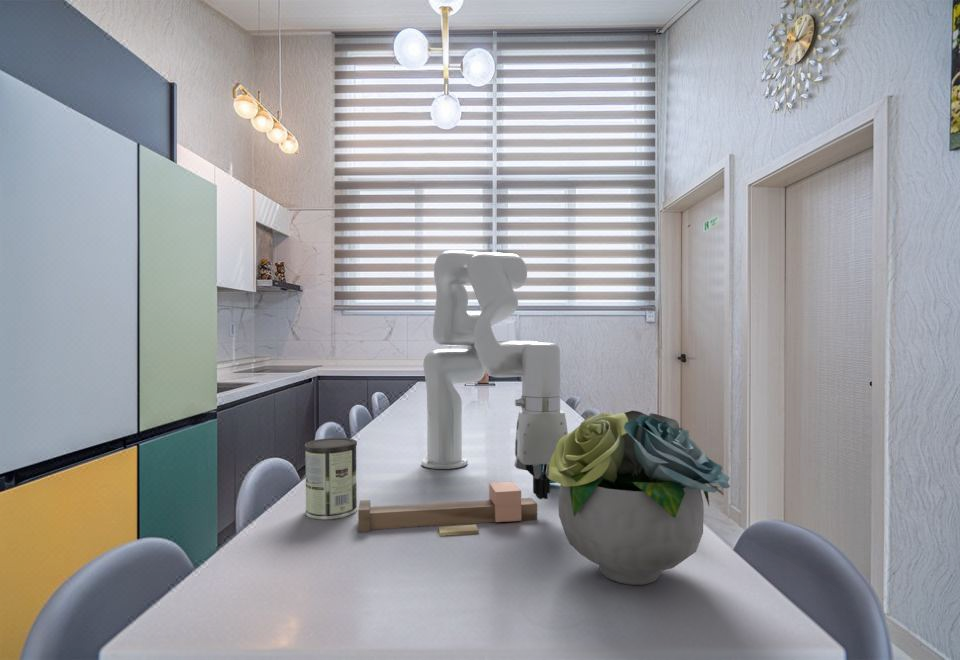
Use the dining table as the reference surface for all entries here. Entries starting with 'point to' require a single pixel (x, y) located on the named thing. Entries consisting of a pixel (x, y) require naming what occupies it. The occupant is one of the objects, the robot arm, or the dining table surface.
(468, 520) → the beam
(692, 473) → the flower arrangement
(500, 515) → the block
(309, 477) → the coffee can
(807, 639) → the dining table surface
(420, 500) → the dining table surface
